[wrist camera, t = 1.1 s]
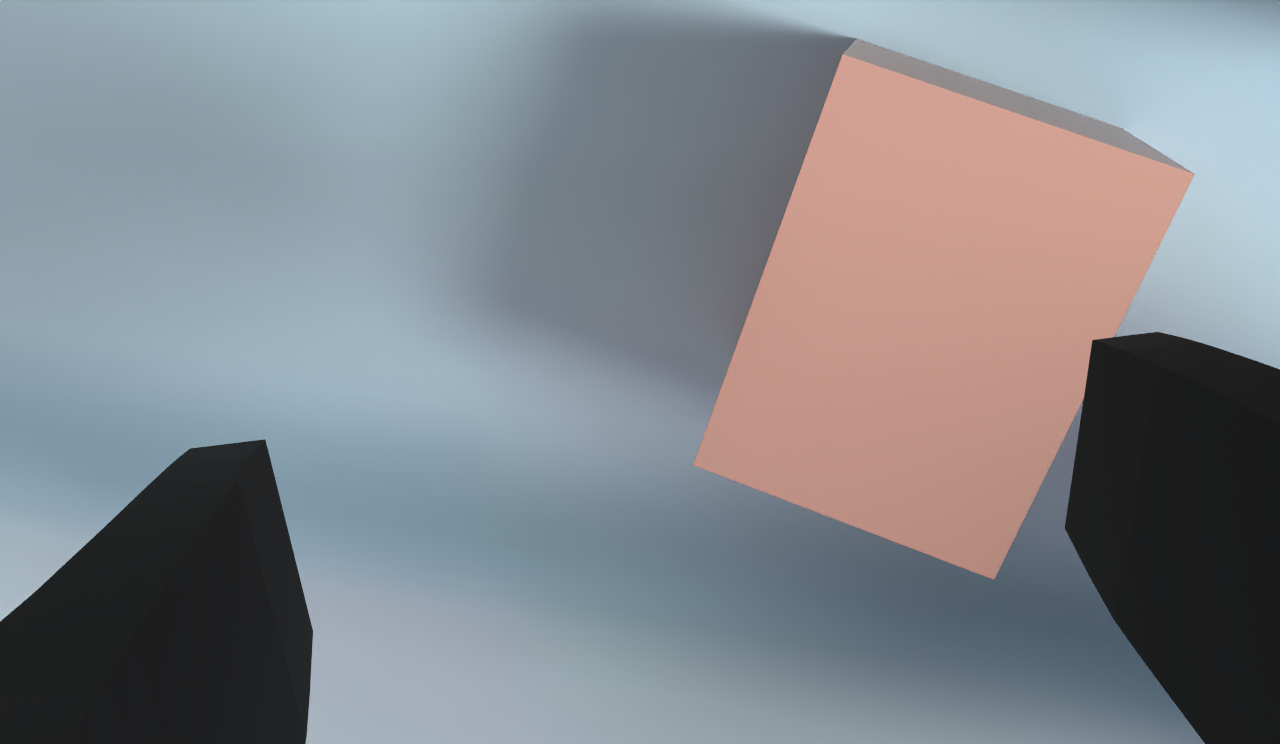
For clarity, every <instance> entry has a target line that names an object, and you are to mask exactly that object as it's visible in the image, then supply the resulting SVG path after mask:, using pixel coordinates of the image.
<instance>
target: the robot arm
mask: <svg viewBox="0 0 1280 744" xmlns="http://www.w3.org/2000/svg"><path fill="white" fill-rule="evenodd" d="M1065 529H1066V531H1067V533H1068V535H1069V537H1070V539H1071V541H1072V543H1073V545H1074V547H1075V549H1076V551H1077V553H1078V555H1079V557H1080V559H1081V561H1082V563H1083V565H1084V566H1085V568H1086V570H1087V572H1088V574H1089V576H1090V578H1091V580H1092V582H1093V584H1094V585H1095V587H1096V589H1097V591H1098V592H1099V594H1100V596H1101V598H1102V599H1103V601H1104V603H1105V605H1106V607H1107V608H1108V610H1109V612H1110V614H1111V615H1112V617H1113V619H1114V620H1115V622H1116V623H1117V625H1118V626H1119V627H1120V629H1121V630H1122V632H1123V633H1124V635H1125V636H1126V637H1127V639H1128V640H1129V642H1130V643H1131V644H1132V646H1133V647H1134V648H1135V650H1136V651H1137V653H1138V654H1139V655H1140V657H1141V658H1142V659H1143V661H1144V662H1145V663H1146V665H1147V666H1148V668H1149V669H1150V670H1151V672H1152V673H1153V674H1154V676H1155V677H1156V678H1157V680H1158V681H1159V683H1160V684H1161V685H1162V687H1163V688H1164V689H1165V691H1166V692H1167V693H1168V695H1169V696H1170V697H1171V699H1172V700H1173V701H1174V703H1175V704H1176V705H1177V707H1178V708H1179V709H1180V711H1181V712H1182V713H1183V715H1184V716H1185V717H1186V719H1187V720H1188V721H1189V723H1190V724H1191V725H1192V727H1193V728H1194V729H1195V731H1196V732H1197V733H1198V735H1199V736H1200V737H1201V739H1202V740H1203V741H1204V743H1205V744H1280V370H1279V369H1277V368H1274V367H1271V366H1268V365H1265V364H1263V363H1260V362H1257V361H1254V360H1251V359H1248V358H1245V357H1242V356H1239V355H1236V354H1233V353H1230V352H1227V351H1224V350H1221V349H1218V348H1215V347H1212V346H1209V345H1206V344H1202V343H1199V342H1196V341H1192V340H1189V339H1185V338H1181V337H1177V336H1173V335H1168V334H1164V333H1159V332H1154V333H1146V334H1137V335H1129V336H1121V337H1112V338H1104V339H1096V340H1092V346H1091V352H1090V359H1089V366H1088V373H1087V380H1086V387H1085V394H1084V401H1083V407H1082V414H1081V421H1080V428H1079V435H1078V442H1077V449H1076V455H1075V462H1074V469H1073V476H1072V483H1071V490H1070V497H1069V503H1068V510H1067V517H1066V524H1065ZM312 639H313V630H312V626H311V622H310V618H309V614H308V610H307V605H306V601H305V597H304V593H303V589H302V585H301V581H300V577H299V573H298V569H297V565H296V561H295V557H294V553H293V549H292V545H291V541H290V537H289V533H288V529H287V525H286V521H285V517H284V513H283V509H282V505H281V501H280V497H279V493H278V489H277V485H276V481H275V477H274V473H273V469H272V465H271V461H270V457H269V453H268V449H267V445H266V441H265V440H258V441H249V442H241V443H233V444H224V445H216V446H208V447H199V448H191V449H189V450H188V451H187V452H185V453H184V454H183V455H182V456H180V457H179V458H178V459H177V460H175V461H174V462H173V463H172V464H171V465H170V466H169V467H168V468H166V469H165V470H164V471H163V472H162V473H161V474H160V475H159V476H158V477H157V478H156V479H155V480H154V481H152V482H151V483H150V484H149V485H148V486H147V487H146V488H145V489H144V490H143V491H142V492H141V493H140V494H139V495H138V496H137V497H136V498H135V499H134V500H132V501H131V502H130V503H129V504H128V505H127V506H126V507H125V508H124V509H123V510H122V511H121V512H120V513H119V514H118V515H117V516H116V517H115V518H114V519H113V520H112V521H111V522H109V523H108V524H107V525H106V526H105V527H104V528H103V529H102V530H101V531H100V532H99V533H98V534H97V535H96V536H95V537H94V538H92V539H91V540H90V541H89V542H88V543H87V544H86V545H85V546H84V547H83V548H82V549H81V550H80V551H79V552H77V553H76V554H75V555H74V556H73V557H72V558H71V559H70V560H69V561H68V562H67V563H66V564H65V565H64V566H62V567H61V568H60V569H59V570H58V571H57V572H56V573H55V574H54V575H53V576H52V577H51V578H50V579H49V580H47V581H46V582H45V583H44V584H43V585H42V586H41V587H40V588H39V589H38V590H37V591H36V592H34V593H33V594H32V595H31V596H30V597H29V598H28V599H26V600H25V601H24V602H23V603H22V604H21V605H19V606H18V607H17V608H16V609H15V610H14V611H12V612H11V613H10V614H9V615H8V616H6V617H5V618H4V619H3V620H2V621H1V622H0V744H305V742H306V736H307V722H308V708H309V695H310V678H311V658H312Z"/></svg>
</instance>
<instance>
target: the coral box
mask: <svg viewBox="0 0 1280 744" xmlns="http://www.w3.org/2000/svg"><path fill="white" fill-rule="evenodd" d="M1193 176H1194V173H1192V172H1190V171H1189V170H1187V169H1186V168H1184V167H1183V166H1181V165H1179V164H1178V163H1176V162H1175V161H1173V160H1171V159H1170V158H1168V157H1167V156H1165V155H1163V154H1162V153H1160V152H1159V151H1157V150H1156V149H1154V148H1152V147H1151V146H1149V145H1148V144H1146V143H1144V142H1143V141H1141V140H1140V139H1138V138H1136V137H1135V136H1133V135H1132V134H1130V133H1129V132H1127V131H1125V130H1124V129H1122V128H1119V127H1116V126H1113V125H1110V124H1107V123H1104V122H1101V121H1098V120H1095V119H1092V118H1089V117H1087V116H1084V115H1081V114H1078V113H1075V112H1072V111H1069V110H1066V109H1063V108H1060V107H1057V106H1054V105H1051V104H1048V103H1045V102H1042V101H1039V100H1036V99H1033V98H1030V97H1028V96H1025V95H1022V94H1019V93H1016V92H1013V91H1010V90H1007V89H1004V88H1001V87H998V86H995V85H992V84H989V83H986V82H983V81H980V80H977V79H974V78H971V77H968V76H966V75H963V74H960V73H957V72H954V71H951V70H948V69H945V68H942V67H939V66H936V65H933V64H930V63H927V62H924V61H921V60H918V59H915V58H912V57H909V56H906V55H904V54H901V53H898V52H895V51H892V50H889V49H886V48H883V47H880V46H877V45H874V44H871V43H868V42H865V41H862V40H859V39H856V40H855V41H854V42H853V43H852V44H851V45H850V46H849V48H848V49H847V50H846V51H845V52H844V53H843V54H842V57H841V60H840V63H839V65H838V68H837V71H836V74H835V76H834V79H833V82H832V85H831V87H830V90H829V93H828V96H827V98H826V101H825V104H824V107H823V109H822V112H821V115H820V118H819V120H818V123H817V126H816V129H815V131H814V134H813V137H812V140H811V142H810V145H809V148H808V151H807V153H806V156H805V159H804V162H803V164H802V167H801V170H800V173H799V175H798V178H797V181H796V184H795V186H794V189H793V192H792V195H791V197H790V200H789V203H788V206H787V208H786V211H785V214H784V217H783V219H782V222H781V225H780V228H779V230H778V233H777V236H776V239H775V241H774V244H773V247H772V250H771V252H770V255H769V258H768V261H767V263H766V266H765V269H764V272H763V274H762V277H761V280H760V282H759V285H758V288H757V291H756V293H755V296H754V299H753V302H752V304H751V307H750V310H749V313H748V315H747V318H746V321H745V324H744V326H743V329H742V332H741V335H740V337H739V340H738V343H737V346H736V348H735V351H734V354H733V357H732V359H731V362H730V365H729V368H728V370H727V373H726V376H725V379H724V381H723V384H722V387H721V390H720V392H719V395H718V398H717V401H716V403H715V406H714V409H713V412H712V414H711V417H710V420H709V423H708V425H707V428H706V431H705V434H704V436H703V439H702V442H701V445H700V447H699V450H698V453H697V456H696V458H695V461H694V464H693V465H694V466H697V467H699V468H702V469H705V470H707V471H710V472H712V473H715V474H718V475H720V476H723V477H726V478H728V479H731V480H733V481H736V482H739V483H741V484H744V485H747V486H749V487H752V488H754V489H757V490H760V491H762V492H765V493H768V494H770V495H773V496H775V497H778V498H781V499H783V500H786V501H789V502H791V503H794V504H796V505H799V506H802V507H804V508H807V509H810V510H812V511H815V512H817V513H820V514H823V515H825V516H828V517H830V518H833V519H836V520H838V521H841V522H844V523H846V524H849V525H851V526H854V527H857V528H859V529H862V530H865V531H867V532H870V533H872V534H875V535H878V536H880V537H883V538H886V539H888V540H891V541H893V542H896V543H899V544H901V545H904V546H907V547H909V548H912V549H914V550H917V551H920V552H922V553H925V554H928V555H930V556H933V557H935V558H938V559H941V560H943V561H946V562H949V563H951V564H954V565H956V566H959V567H962V568H964V569H967V570H970V571H972V572H975V573H977V574H980V575H983V576H985V577H988V578H991V579H993V580H994V579H995V577H996V575H997V573H998V571H999V569H1000V567H1001V565H1002V563H1003V561H1004V559H1005V557H1006V555H1007V553H1008V551H1009V549H1010V547H1011V545H1012V543H1013V541H1014V538H1015V536H1016V534H1017V532H1018V530H1019V528H1020V526H1021V524H1022V522H1023V520H1024V518H1025V516H1026V514H1027V512H1028V510H1029V508H1030V506H1031V504H1032V502H1033V500H1034V498H1035V496H1036V494H1037V492H1038V490H1039V488H1040V486H1041V484H1042V482H1043V480H1044V478H1045V476H1046V474H1047V472H1048V470H1049V468H1050V466H1051V464H1052V462H1053V460H1054V458H1055V456H1056V454H1057V451H1058V449H1059V447H1060V445H1061V443H1062V441H1063V439H1064V437H1065V435H1066V433H1067V431H1068V429H1069V427H1070V425H1071V423H1072V421H1073V419H1074V417H1075V415H1076V413H1077V411H1078V409H1079V407H1080V405H1081V403H1082V401H1083V399H1084V394H1085V387H1086V380H1087V373H1088V366H1089V359H1090V352H1091V346H1092V340H1096V339H1104V338H1112V337H1114V336H1115V334H1116V332H1117V330H1118V328H1119V326H1120V324H1121V322H1122V320H1123V318H1124V316H1125V314H1126V312H1127V310H1128V308H1129V306H1130V304H1131V302H1132V300H1133V298H1134V296H1135V294H1136V292H1137V290H1138V288H1139V286H1140V284H1141V282H1142V279H1143V277H1144V275H1145V273H1146V271H1147V269H1148V267H1149V265H1150V263H1151V261H1152V259H1153V257H1154V255H1155V253H1156V251H1157V249H1158V247H1159V245H1160V243H1161V241H1162V239H1163V237H1164V235H1165V233H1166V231H1167V229H1168V227H1169V225H1170V223H1171V221H1172V219H1173V217H1174V215H1175V213H1176V211H1177V209H1178V207H1179V205H1180V203H1181V201H1182V199H1183V197H1184V195H1185V192H1186V190H1187V188H1188V186H1189V184H1190V182H1191V180H1192V178H1193Z"/></svg>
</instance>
